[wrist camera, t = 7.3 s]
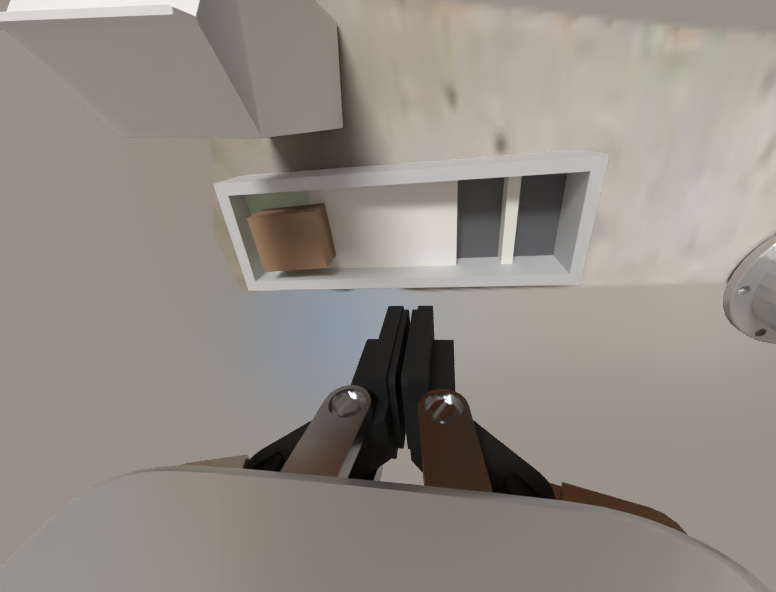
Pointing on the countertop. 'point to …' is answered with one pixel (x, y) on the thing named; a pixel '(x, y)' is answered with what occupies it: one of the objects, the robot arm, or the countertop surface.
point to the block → (293, 237)
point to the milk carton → (190, 63)
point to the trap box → (432, 221)
